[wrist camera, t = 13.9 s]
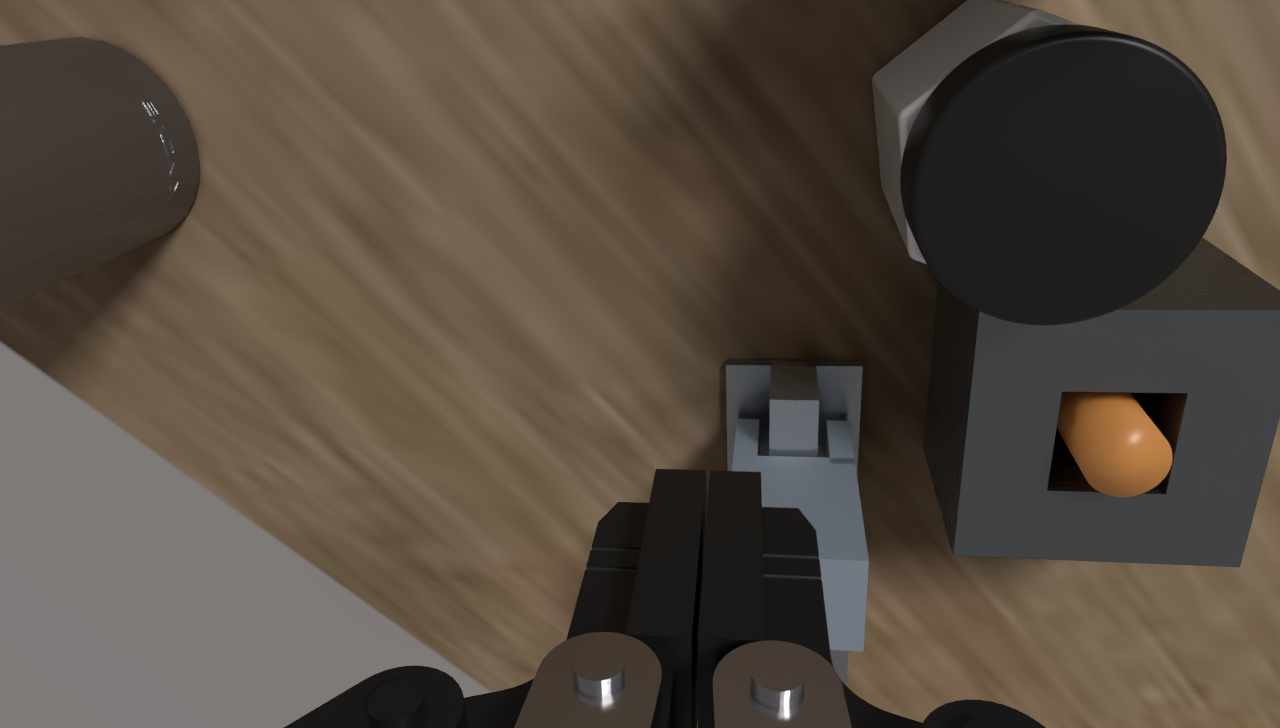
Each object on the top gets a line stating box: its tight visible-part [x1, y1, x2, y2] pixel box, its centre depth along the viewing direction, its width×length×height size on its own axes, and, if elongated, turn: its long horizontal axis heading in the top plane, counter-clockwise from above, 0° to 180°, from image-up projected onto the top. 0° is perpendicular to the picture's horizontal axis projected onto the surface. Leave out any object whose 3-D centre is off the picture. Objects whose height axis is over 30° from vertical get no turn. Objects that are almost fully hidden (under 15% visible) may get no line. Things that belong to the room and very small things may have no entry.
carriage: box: [732, 419, 869, 652], centre depth 37 cm, size 5×4×10 cm
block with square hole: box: [924, 238, 1280, 567], centre depth 35 cm, size 10×10×8 cm
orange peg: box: [1057, 392, 1173, 497], centre depth 34 cm, size 3×3×8 cm
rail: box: [726, 360, 863, 685], centre depth 43 cm, size 6×21×4 cm, turn 3°
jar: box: [872, 0, 1227, 325], centre depth 30 cm, size 9×8×12 cm
